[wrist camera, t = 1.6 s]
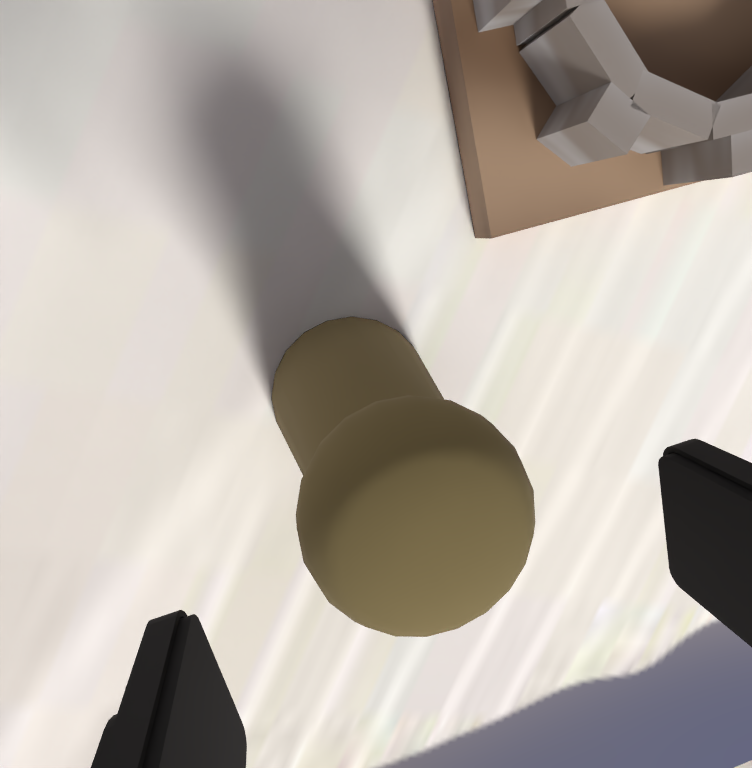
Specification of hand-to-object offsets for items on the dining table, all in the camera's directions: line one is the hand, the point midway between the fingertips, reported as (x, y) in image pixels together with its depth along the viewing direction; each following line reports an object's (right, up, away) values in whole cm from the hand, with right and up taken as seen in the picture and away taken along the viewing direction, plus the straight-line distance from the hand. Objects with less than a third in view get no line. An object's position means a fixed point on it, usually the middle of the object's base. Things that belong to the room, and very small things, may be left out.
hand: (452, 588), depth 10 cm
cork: (-2, +3, +11) cm, 11 cm away
